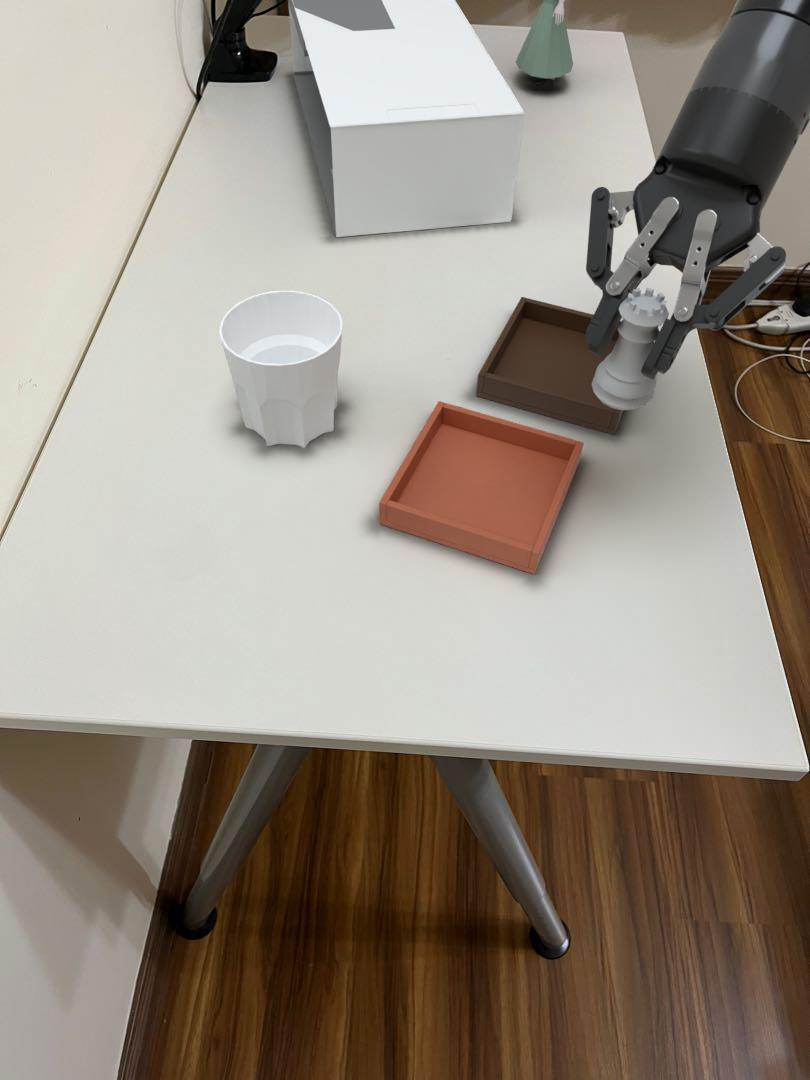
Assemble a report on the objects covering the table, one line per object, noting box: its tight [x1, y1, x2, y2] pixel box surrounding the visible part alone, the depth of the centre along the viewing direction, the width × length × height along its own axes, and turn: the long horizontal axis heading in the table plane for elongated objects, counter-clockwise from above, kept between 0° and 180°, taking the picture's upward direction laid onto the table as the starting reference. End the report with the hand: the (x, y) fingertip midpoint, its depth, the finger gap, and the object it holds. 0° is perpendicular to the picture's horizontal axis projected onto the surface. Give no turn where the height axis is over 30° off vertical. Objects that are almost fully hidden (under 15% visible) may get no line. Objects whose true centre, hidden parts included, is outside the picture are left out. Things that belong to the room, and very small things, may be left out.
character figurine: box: [515, 0, 574, 91], centre depth 117 cm, size 16×8×18 cm, turn 178°
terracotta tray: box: [378, 400, 585, 575], centre depth 70 cm, size 13×13×3 cm
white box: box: [287, 0, 526, 238], centre depth 106 cm, size 45×21×12 cm, turn 11°
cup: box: [218, 290, 344, 449], centre depth 73 cm, size 10×10×10 cm
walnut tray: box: [475, 296, 624, 436], centre depth 80 cm, size 13×13×3 cm
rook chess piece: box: [592, 287, 670, 411], centre depth 58 cm, size 4×4×8 cm
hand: (621, 363), depth 57 cm, fingers closed on rook chess piece, 3 cm apart
